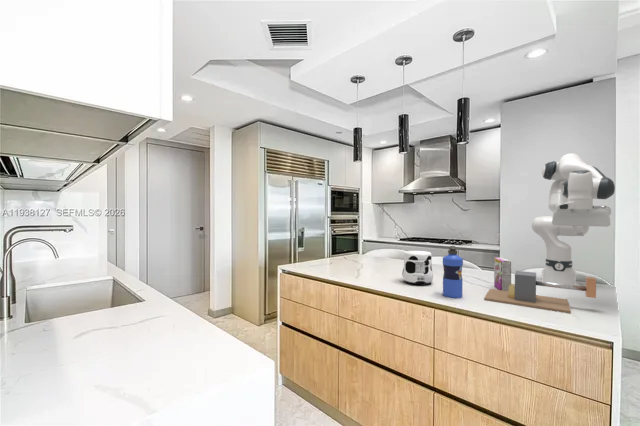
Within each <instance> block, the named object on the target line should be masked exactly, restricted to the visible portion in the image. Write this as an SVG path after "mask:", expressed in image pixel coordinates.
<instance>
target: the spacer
mask: <svg viewBox="0 0 640 426" xmlns="http://www.w3.org/2000/svg"><path fill="white" fill-rule="evenodd" d="M509 298H514V299H515V283H511V284H509Z"/></svg>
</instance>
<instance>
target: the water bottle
mask: <svg viewBox="0 0 640 426" xmlns="http://www.w3.org/2000/svg"><path fill="white" fill-rule="evenodd" d="M447 253H448V254H447V255H445V256H443V257H442V267H443V275H442V276H443V277H442V296H443V297H445V298H450V299H461V298H463V274H462V273H463V266H464V258H462V257H461V256H459V255H458V249H457V247H456V246H455V245H450V246H449V247H448V251H447Z"/></svg>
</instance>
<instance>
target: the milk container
mask: <svg viewBox="0 0 640 426" xmlns="http://www.w3.org/2000/svg"><path fill="white" fill-rule="evenodd" d="M432 256H433V255H432V253H431V251H426V250H406V251H404V252H403V269H402V271H401V272H402V279H403V281H404V282H406V283H409V284H411V285H428V284H432V282H433V280H434V272H433V268H432V260H433V258H432Z"/></svg>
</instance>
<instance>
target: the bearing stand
mask: <svg viewBox="0 0 640 426" xmlns="http://www.w3.org/2000/svg"><path fill="white" fill-rule="evenodd" d="M536 281H537V272H534V271H533V272H532V271H525V270H524V271H523V270H515V273H514V284H515V299H514V298H509V291H502V290H499V289H494V288H490V289H488V292H487V293H486V294H485V296H484V298H483V300H484V301H489V302H495V303H500V304H507V305H514V306H519V307H527V308H533V309H540V310H546V311H551V310H552V311H553V312H557V311H559V312H558V313H564V312H565V313H566V314H571V313H572V312H571V311H572V310H571V307H570V304H569V303H570V302H569V300H568V298H560V297H552V296H546V295H545V296H544V295H538V294H537V285H536ZM552 311H551V312H552ZM565 313H564V314H565Z"/></svg>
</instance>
